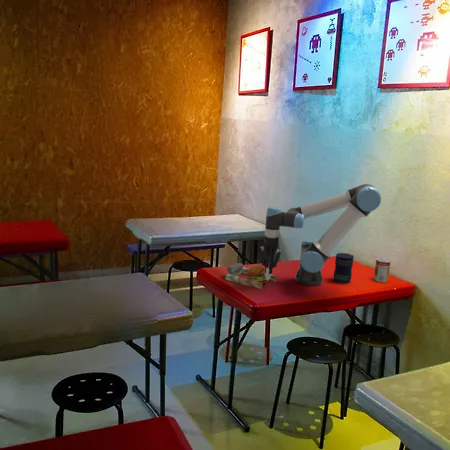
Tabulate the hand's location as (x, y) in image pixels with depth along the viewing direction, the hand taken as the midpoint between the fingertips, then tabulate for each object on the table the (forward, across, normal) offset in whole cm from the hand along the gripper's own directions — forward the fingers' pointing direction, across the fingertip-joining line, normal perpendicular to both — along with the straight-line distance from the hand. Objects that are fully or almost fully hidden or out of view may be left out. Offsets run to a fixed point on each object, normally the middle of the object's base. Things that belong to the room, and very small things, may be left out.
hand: (267, 279), depth 265 cm
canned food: (+3, -46, -54) cm, 71 cm away
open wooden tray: (+3, +10, 0) cm, 11 cm away
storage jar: (+3, -29, -36) cm, 46 cm away
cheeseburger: (+3, +6, 0) cm, 7 cm away
